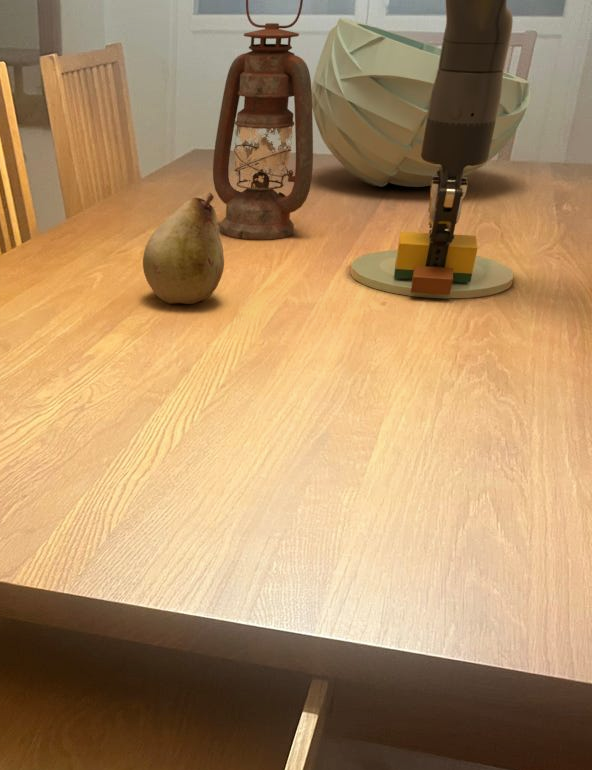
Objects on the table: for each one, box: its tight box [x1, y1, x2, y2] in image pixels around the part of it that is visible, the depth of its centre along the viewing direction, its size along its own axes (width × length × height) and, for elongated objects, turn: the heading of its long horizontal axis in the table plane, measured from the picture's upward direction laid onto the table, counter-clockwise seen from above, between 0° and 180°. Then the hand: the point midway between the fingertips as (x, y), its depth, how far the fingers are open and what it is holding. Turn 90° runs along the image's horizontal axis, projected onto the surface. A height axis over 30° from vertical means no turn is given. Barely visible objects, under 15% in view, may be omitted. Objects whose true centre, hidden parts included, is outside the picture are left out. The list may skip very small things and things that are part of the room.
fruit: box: [142, 192, 225, 305], centre depth 112 cm, size 10×9×12 cm
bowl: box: [311, 17, 531, 188], centre depth 167 cm, size 35×35×22 cm
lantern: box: [212, 0, 314, 241], centre depth 134 cm, size 11×16×35 cm
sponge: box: [394, 231, 479, 282], centre depth 118 cm, size 9×6×4 cm, turn 75°
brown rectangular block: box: [411, 266, 453, 295], centre depth 114 cm, size 4×3×2 cm, turn 75°
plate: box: [350, 249, 515, 300], centre depth 123 cm, size 20×20×1 cm
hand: (433, 267), depth 119 cm, fingers closed on sponge, 6 cm apart
